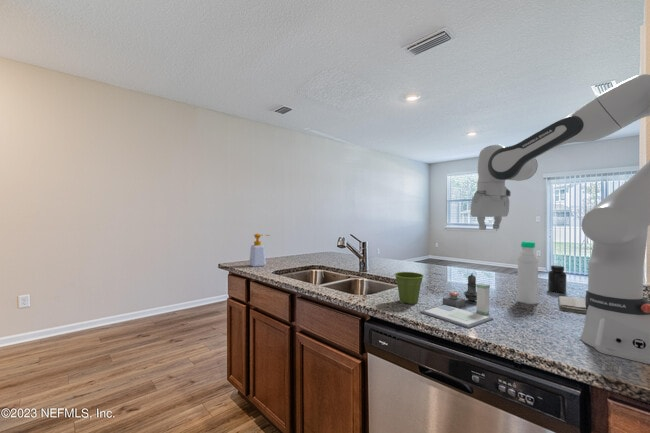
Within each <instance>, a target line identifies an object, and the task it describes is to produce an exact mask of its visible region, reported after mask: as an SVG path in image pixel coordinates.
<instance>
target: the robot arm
mask: <svg viewBox="0 0 650 433" xmlns="http://www.w3.org/2000/svg"><path fill="white" fill-rule="evenodd" d="M646 117H650V74H646V73H643V74H638V75H635V76H633V77H631V78H628V79H626V80H624V81H621V82H620V83H618V84H616V85H614V86H613V87H611V88H608V90H607V89H606V91H604V92H602V93H600V94H599V95H597V96H596V97H594V98H593V99H590V100H589V101H587V102H586V103H584V104H583V105H582V106H580V107H578V108H577V109H575V110H574V111H571V112H570V113H569V114H567V115H565V116H564V117H562V118H560V119H559V120H556V121H555V122H553V123H551V124H549V125H548V126H545V127H544V128H543V129H541V130H539V131H537V132H535V133H534V134H532V135H530V136H528V137H527V138H525V139H524V140H522V141H520V142H518V143H516V144H513V145H510V146H504V145H503V144H493V145H489V146H486V147H484V148H482V149H481V150H480V153H479V156H478V160H477V175H478V179H477V182H476V191H475V193H473V196H472V198H471V204H470V212H469V213H470V215H471V217H475V218H476V220H477V223H478V228H479V230H480V231H485V230H487V224H486V223H485V220H486V217H487V218H488V217H489V218H490V217H491V218H493V219H494V223H493V224H492V229H493V230H499V229H500V225H501V222H502V220H503V217H505V218H507V217H508V215H509V211H510V198H509V197H511V194H512V193H511V190H510V189H509V188H507V187H506V181H516V182H521V181H526V180H529V179H530V178H532V177H533V176H534V175H535V174H536V172H537V170H538V166H539V164H538V161H537V159H536V158H538V157H540V156H541V155H543V154H546V153H547V152H549V151H551V150H553V149H554V148H558V147H559V146H563V145H566V144H567V145H568V144H572V143H573V144H574V143H587V142H589V143H590V142H591V143H592V142H595V141H598V140H600V139H603V138H605V137H607V136H610V135H613V134H614V133H616V132H619V131H620V130H622V129H623V128H626V127H628V126H629V125H631V124H633V123H634V122H637V121H639V120H641V119H643V118H646ZM581 220H582V221H581V224H580V225H581V230H582V232H583V234H584V235H585V236H586V237H587V239H589V240H591V241H593V244H592V248H591V249H592V250H591V253H590V259H589V261H588V263H587V266H588V269H587V270H588V272H587V290H586V291H585V298H584V299H585V306H586V310H587V314H585V321H584V324H583V325H584V326H583V328H582V332H581V334H580V337H579V339H580V340H581V341H582V342H583V343H585V344H586V345H589V346H591V347H593V348H594V349H595V350H596V351H598V352H599V353H602V354H604V355H610V356H613V357H616V358H617V357H618V358H621V359H626V360H629V361H634V362H639V363H641V364H646V365H650V300H648V299H647V298H645V297H643V295H644V294H643V293H644V286H643V285H644V264H645V258H646V250H647V241H648V231H649V229H648V227H649V226H650V160H648V161H647V162H646V163H645V164H644V165H643V166H642V167H641V168H640V169H638V171H636V173H635V174H633V176H631V177H630V178H629V179H628V180H626V181H625V182H624V183H623V184H621V185H620V186H618V187H617V188H616V189H614V190H613V191H612V192H611V193H610V194H608V195H607V196H606V197H605V198H603V199H602V200H601V201H599V203H597V204H596V205H595V206H594V207H593V208H591V209H590V210H588V212H587V213H585V214H584V216H583V218H582V219H581Z"/></svg>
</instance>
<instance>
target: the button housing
mask: <svg viewBox="0 0 650 433" xmlns="http://www.w3.org/2000/svg"><path fill="white" fill-rule="evenodd" d="M465 300H466V299H465V298H462V297H458V296H457V300H452V299H450V295H449V296H446V297H442V305H444V304H445V305H449V306H452V307H456V308H462V307H464V306H466V302H465Z"/></svg>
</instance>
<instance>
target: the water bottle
mask: <svg viewBox="0 0 650 433" xmlns="http://www.w3.org/2000/svg"><path fill="white" fill-rule="evenodd" d="M520 244H521V245H520V246H521V248H522V249H521V251H520V254H519V255H518V256H517V262H518V264H517V283H518V284H517V296H516V297H517V299H516V300H517V302H519V303H521V304H524V305H525V304H526V305H537V304H538V303H539V296H538V293H539V285H538V283H539V264H538V263H539V258H538V256H537V255H536V252H535V251H534V250H535V248H536V242H534V241H526V240H525V241H522V242H521V243H520Z"/></svg>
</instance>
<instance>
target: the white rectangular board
mask: <svg viewBox="0 0 650 433" xmlns="http://www.w3.org/2000/svg"><path fill="white" fill-rule="evenodd" d="M419 313H421V314H422V315H426V316H430V317H432V318H434V319H435V318H436V319H439V320H442V321H444V322H449V323H451V324H455V325H457V326H461V327H463V328H467V329H471V328H474V327H477V326H479V325H482V324H485V323H488V322H489V321H492V320H494V317H491V316H488V315H483V314H479V313H477V312H473V311H470V310H466V309H463V308H460V307H458V308H456V307H452V306H449V305H445V304H444V305H443V304H441V305H440V304H439V305H438V306H433V307H429V308H427V309H422V310H419Z"/></svg>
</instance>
